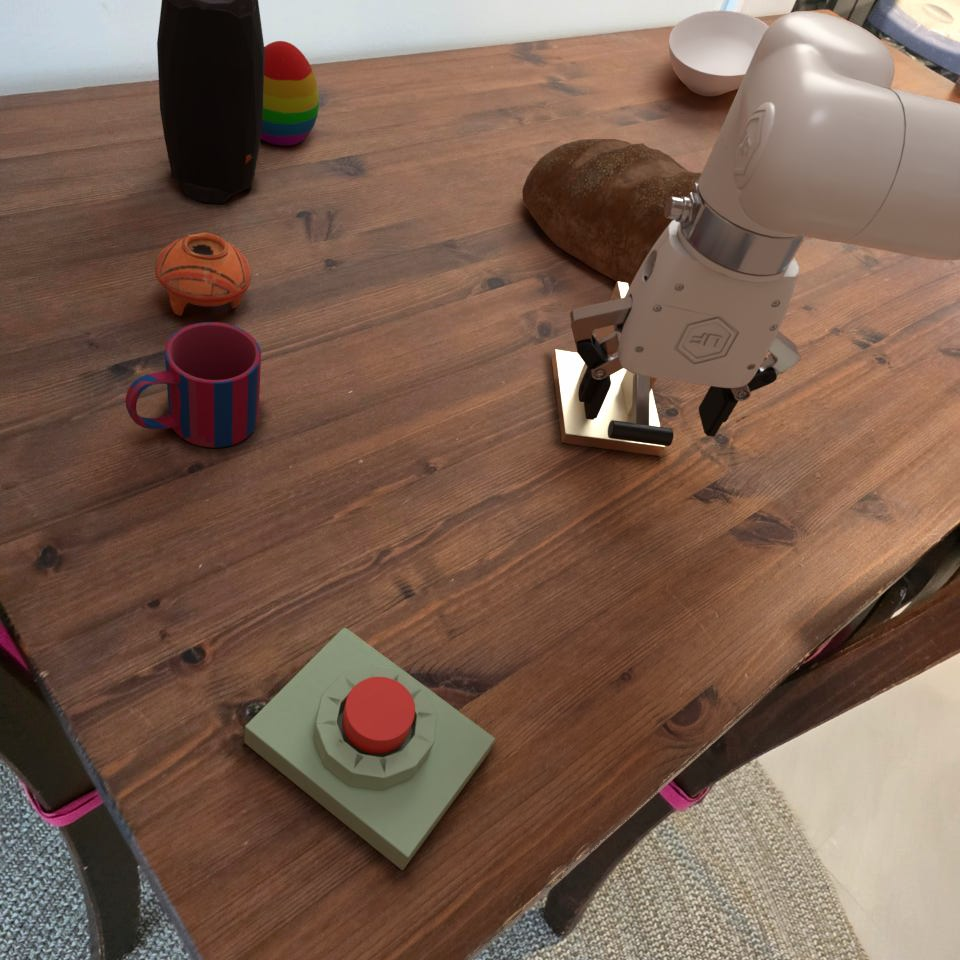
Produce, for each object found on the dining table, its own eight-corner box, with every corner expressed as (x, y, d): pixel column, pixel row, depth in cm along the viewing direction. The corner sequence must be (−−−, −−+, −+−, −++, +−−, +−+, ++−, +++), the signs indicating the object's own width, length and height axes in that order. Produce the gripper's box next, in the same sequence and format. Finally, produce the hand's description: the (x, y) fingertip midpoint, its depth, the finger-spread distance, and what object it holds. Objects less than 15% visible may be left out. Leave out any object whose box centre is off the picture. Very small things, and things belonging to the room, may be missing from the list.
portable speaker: (274, 197, 91) (284, -3, 76) (188, 214, 86) (181, 4, 72) (234, 154, 94) (237, -45, 80) (149, 168, 89) (135, -41, 75)
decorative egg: (250, 108, 101) (252, 18, 94) (321, 124, 102) (329, 36, 95) (233, 143, 96) (234, 50, 89) (309, 159, 97) (316, 69, 90)
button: (424, 717, 52) (429, 704, 51) (382, 768, 50) (386, 755, 49) (371, 678, 53) (374, 663, 52) (327, 725, 51) (330, 711, 50)
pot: (137, 278, 78) (150, 209, 74) (223, 285, 82) (240, 220, 78) (162, 334, 73) (178, 264, 69) (252, 337, 78) (272, 272, 74)
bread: (721, 357, 89) (772, 263, 81) (488, 219, 97) (513, 121, 88) (776, 295, 99) (826, 206, 91) (561, 175, 107) (590, 83, 98)
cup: (272, 434, 69) (276, 370, 64) (144, 471, 64) (138, 405, 60) (237, 379, 73) (238, 313, 68) (112, 410, 68) (103, 342, 63)
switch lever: (664, 450, 71) (676, 441, 69) (605, 442, 71) (615, 432, 68) (664, 315, 75) (676, 302, 73) (608, 306, 74) (618, 292, 72)
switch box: (488, 753, 56) (503, 725, 53) (402, 871, 50) (413, 846, 47) (341, 643, 59) (347, 610, 56) (243, 742, 53) (244, 711, 50)
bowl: (724, 132, 125) (743, 90, 120) (630, 89, 128) (644, 46, 123) (779, 73, 144) (797, 35, 140) (697, 37, 147) (711, -1, 143)
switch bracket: (660, 456, 77) (715, 354, 69) (561, 443, 76) (604, 337, 67) (642, 372, 85) (689, 270, 76) (551, 358, 83) (589, 253, 75)
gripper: (620, 239, 52) (543, 435, 65) (882, 285, 55) (760, 465, 68) (605, 172, 57) (537, 367, 70) (847, 218, 60) (739, 397, 73)
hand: (647, 415), depth 69 cm, fingers open, 9 cm apart
